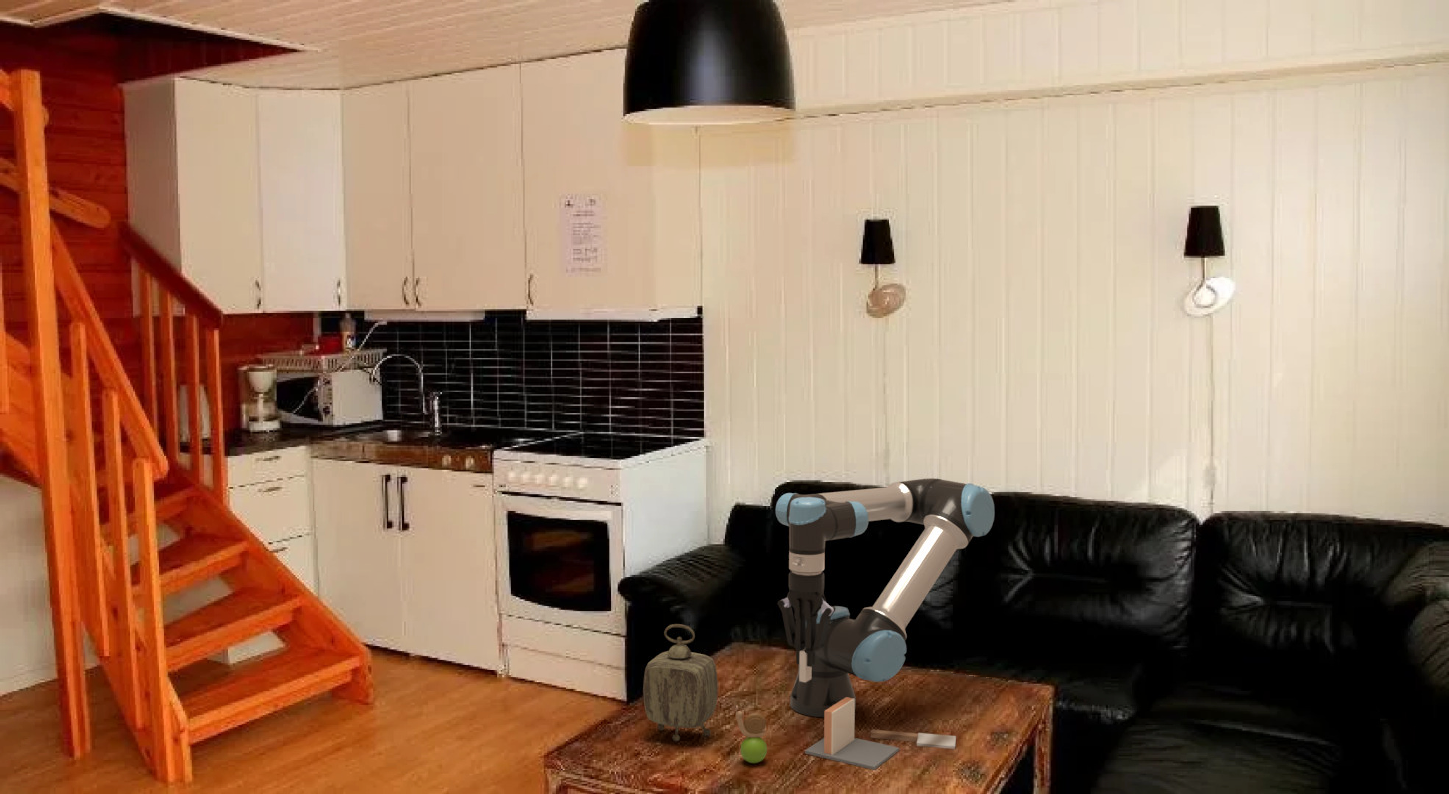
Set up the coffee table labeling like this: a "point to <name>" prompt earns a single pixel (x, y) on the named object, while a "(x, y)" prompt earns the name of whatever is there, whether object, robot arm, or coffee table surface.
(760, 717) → the snail figurine
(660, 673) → the tabletop clock
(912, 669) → the coffee table surface
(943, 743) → the turner
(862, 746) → the mat
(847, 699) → the tile
